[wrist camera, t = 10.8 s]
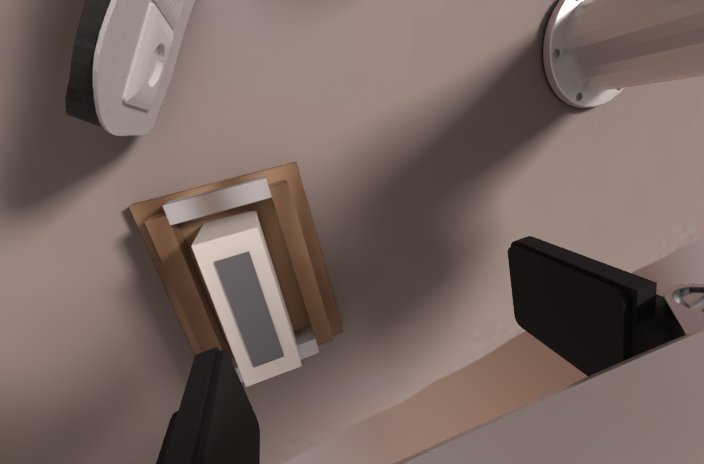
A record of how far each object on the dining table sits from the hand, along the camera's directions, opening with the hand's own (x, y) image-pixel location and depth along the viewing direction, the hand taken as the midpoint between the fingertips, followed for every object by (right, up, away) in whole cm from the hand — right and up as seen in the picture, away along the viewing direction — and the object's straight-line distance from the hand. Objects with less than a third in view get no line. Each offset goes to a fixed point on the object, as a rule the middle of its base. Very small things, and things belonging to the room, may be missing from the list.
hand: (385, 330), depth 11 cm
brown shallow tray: (-11, -1, +22) cm, 25 cm away
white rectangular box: (-10, -1, +21) cm, 24 cm away
